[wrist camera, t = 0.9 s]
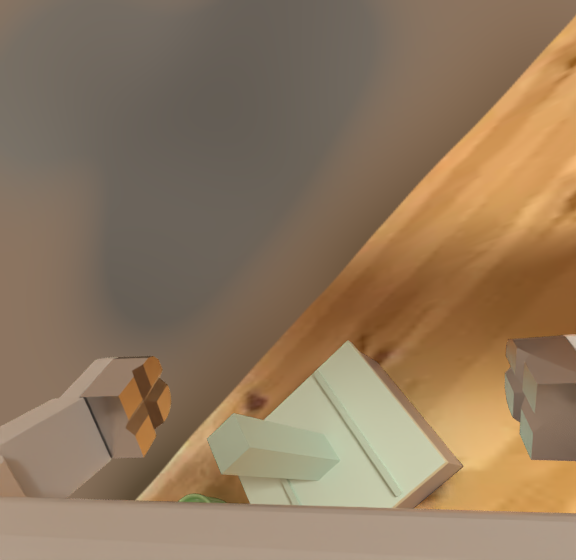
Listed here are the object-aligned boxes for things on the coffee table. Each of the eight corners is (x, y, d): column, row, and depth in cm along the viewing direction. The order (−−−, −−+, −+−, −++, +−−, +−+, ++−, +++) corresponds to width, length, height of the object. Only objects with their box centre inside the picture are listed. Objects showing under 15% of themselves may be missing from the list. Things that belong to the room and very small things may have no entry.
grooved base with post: (352, 342, 46) (271, 292, 35) (448, 462, 37) (380, 446, 25) (234, 454, 49) (124, 440, 38) (295, 592, 39) (173, 629, 28)
